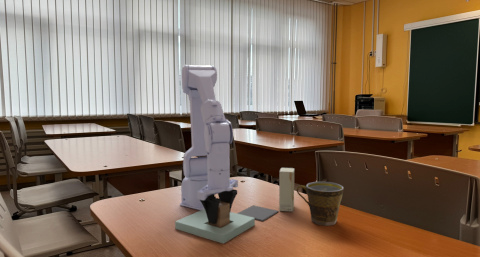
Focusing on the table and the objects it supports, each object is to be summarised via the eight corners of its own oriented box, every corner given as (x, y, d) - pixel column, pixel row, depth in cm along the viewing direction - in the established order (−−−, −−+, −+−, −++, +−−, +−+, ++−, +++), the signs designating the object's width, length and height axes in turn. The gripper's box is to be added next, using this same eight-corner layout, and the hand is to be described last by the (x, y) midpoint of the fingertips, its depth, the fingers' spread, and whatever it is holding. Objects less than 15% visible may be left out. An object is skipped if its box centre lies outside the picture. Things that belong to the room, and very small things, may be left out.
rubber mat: (236, 214, 101) (236, 213, 100) (253, 206, 108) (253, 205, 108) (262, 221, 95) (263, 219, 95) (278, 212, 103) (278, 210, 103)
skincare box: (293, 212, 103) (293, 172, 101) (278, 211, 103) (279, 171, 102) (294, 205, 109) (294, 167, 108) (280, 204, 110) (280, 167, 108)
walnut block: (208, 230, 89) (208, 204, 88) (217, 225, 92) (217, 200, 92) (220, 234, 87) (220, 207, 86) (229, 229, 90) (229, 203, 89)
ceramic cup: (345, 218, 97) (346, 184, 96) (338, 231, 89) (339, 193, 88) (301, 211, 104) (302, 178, 102) (290, 222, 95) (290, 187, 94)
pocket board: (175, 228, 90) (175, 221, 90) (209, 213, 102) (209, 206, 102) (223, 243, 81) (223, 235, 81) (254, 224, 93) (254, 217, 93)
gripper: (212, 176, 80) (213, 232, 81) (247, 165, 92) (247, 214, 93) (190, 172, 84) (191, 226, 85) (226, 162, 96) (226, 209, 97)
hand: (219, 219), depth 89 cm, fingers open, 5 cm apart
